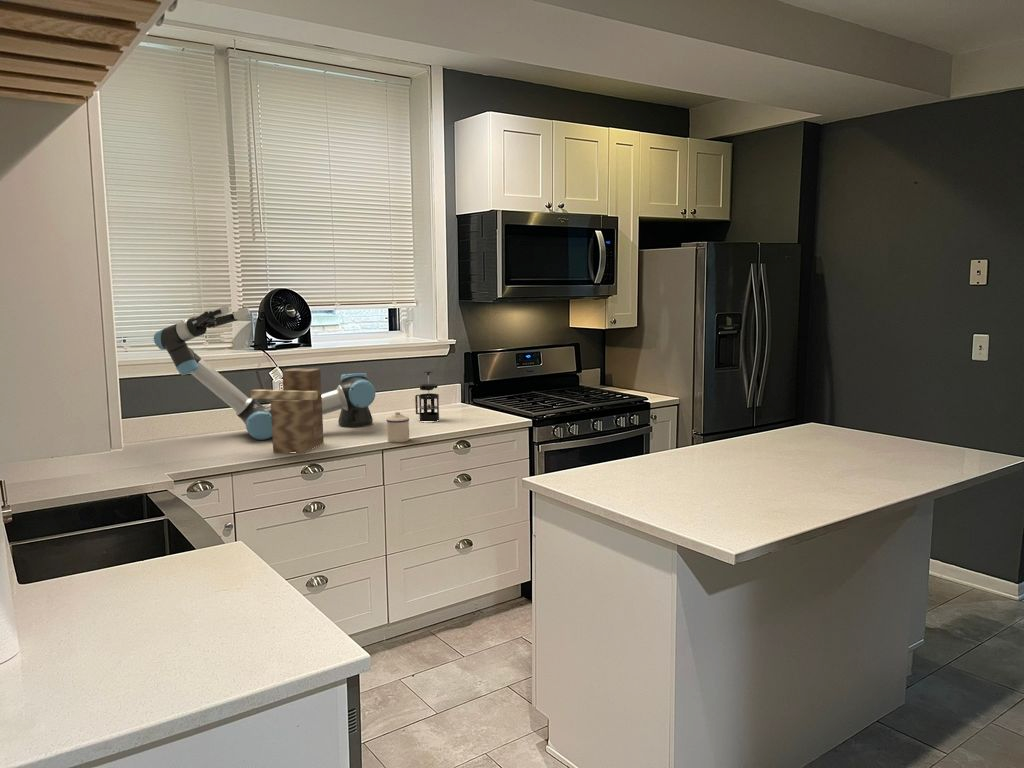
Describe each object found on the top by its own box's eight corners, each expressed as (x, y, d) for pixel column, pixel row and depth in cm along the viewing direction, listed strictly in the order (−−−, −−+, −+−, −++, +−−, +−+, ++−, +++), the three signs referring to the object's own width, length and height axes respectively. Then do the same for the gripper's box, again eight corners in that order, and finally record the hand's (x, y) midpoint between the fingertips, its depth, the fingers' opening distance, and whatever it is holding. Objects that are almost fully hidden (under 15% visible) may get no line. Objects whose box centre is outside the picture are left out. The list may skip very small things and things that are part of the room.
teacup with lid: (414, 440, 304) (413, 412, 302) (395, 443, 297) (394, 415, 296) (397, 435, 312) (396, 408, 310) (378, 439, 306) (377, 411, 304)
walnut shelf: (273, 452, 284) (269, 374, 280) (295, 442, 301) (292, 368, 297) (302, 453, 282) (298, 374, 277) (323, 443, 299) (320, 368, 295)
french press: (444, 419, 347) (443, 370, 344) (436, 423, 338) (435, 372, 335) (420, 418, 351) (419, 369, 347) (412, 422, 342) (411, 371, 338)
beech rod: (250, 398, 286) (250, 390, 286) (255, 397, 289) (254, 389, 289) (314, 400, 281) (313, 392, 281) (317, 398, 284) (317, 390, 284)
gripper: (168, 317, 278) (217, 297, 274) (207, 320, 303) (253, 302, 299) (175, 336, 278) (224, 317, 274) (213, 337, 303) (259, 320, 299)
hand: (239, 309), depth 286 cm, fingers open, 13 cm apart
